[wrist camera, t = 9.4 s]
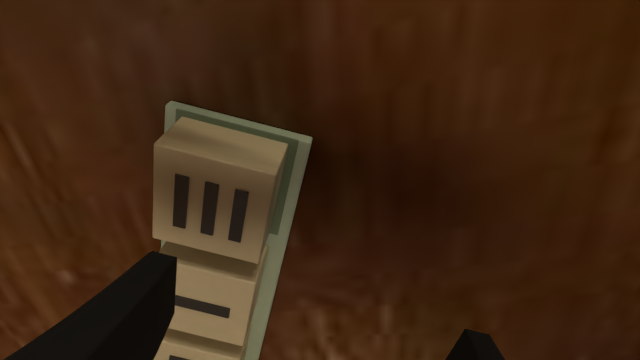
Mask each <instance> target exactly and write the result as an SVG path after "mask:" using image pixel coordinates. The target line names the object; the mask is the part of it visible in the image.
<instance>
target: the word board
mask: <svg viewBox="0 0 640 360" xmlns="http://www.w3.org/2000/svg"><path fill="white" fill-rule="evenodd" d="M181 117H186V118H190V119H194V120H198V121H202V122H206V123H210V124H213V125H217V126H221V127H225V128H229V129H233V130H237V131H241V132H244V133H248V134H252V135H256V136H260V137H264V138H268V139H272V140H275V141H279V142H283V143H287V144H288V145H289V146H288V151H287V156H286V160H285V165H284V170H283V174H282V179H281V184H280V188H279V193H278V198H277V203H276V207H275V212H274V217H273V221H272V226H271V229H270V232H269V235H268V238H267V241H266V244H265V247H264V250H263V253H262V255H261V258H260V261H259V263H258V264H256V263H252V262H248V261H244V260H240V259H236V258H232V257H228V256H224V255H220V254H216V253H212V252H208V251H204V250H200V249H196V248H192V247H188V246H184V245H180V244H176V243H172V242H168V241H164V240H161V250H160V251H159V253H162V254H166V255H170V256H174V257H177V273H176V293H175V313H174V315H173V318H172V320H171V322H170V325H169V327H168V329H167V332H166V334H165V336H164V338H163V341H162V343H161V345H160V347H159V350H158V352H157V354H156V356H155V357H154V359H153V360H259V356H260V352H261V348H262V343H263V339H264V335H265V331H266V327H267V323H268V319H269V315H270V311H271V307H272V303H273V299H274V295H275V291H276V286H277V282H278V278H279V274H280V270H281V266H282V262H283V258H284V254H285V250H286V246H287V242H288V238H289V233H290V229H291V225H292V221H293V217H294V213H295V209H296V205H297V201H298V197H299V193H300V189H301V185H302V181H303V176H304V172H305V168H306V164H307V160H308V156H309V152H310V148H311V144H312V140H313V138H312V137H310V136H306V135H302V134H298V133H295V132H291V131H287V130H283V129H279V128H275V127H271V126H267V125H264V124H260V123H256V122H252V121H248V120H244V119H240V118H237V117H233V116H229V115H225V114H221V113H217V112H213V111H210V110H206V109H202V108H198V107H194V106H190V105H186V104H183V103H179V102H175V101H170V102H169V103H168V104H166V106H165V130H164V133H165V132H166V131H167V130H168V129H169V128H170V127H172V126H173V125H174V124H175V123H176V122H177V121H178V120H179V119H180V118H181Z"/></svg>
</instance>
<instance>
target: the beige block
mask: <svg viewBox="0 0 640 360" xmlns="http://www.w3.org/2000/svg"><path fill="white" fill-rule="evenodd" d="M288 146H289V145H288V144H287V143H283V142H279V141H275V140H272V139H268V138H264V137H260V136H256V135H252V134H248V133H244V132H241V131H237V130H233V129H229V128H225V127H221V126H217V125H213V124H210V123H206V122H202V121H198V120H194V119H190V118H186V117H181V118H180V119H179V120H178V121H177V122H176V123H175V124H174V125H173V126H172V127H170V128H169V129H168V130H167V131H166V132H165V133H164V134H163V135H162V136H161V137H160V138H159V139H158V140H157V141H156V142H155V143H154V172H153V238H156V239H160V240H164V241H168V242H172V243H176V244H180V245H184V246H188V247H192V248H196V249H200V250H204V251H208V252H212V253H216V254H220V255H224V256H228V257H232V258H236V259H240V260H244V261H248V262H252V263H256V264H258V263H259V261H260V258H261V255H262V253H263V250H264V247H265V244H266V241H267V238H268V235H269V232H270V229H271V226H272V221H273V217H274V212H275V207H276V203H277V198H278V193H279V188H280V184H281V179H282V174H283V170H284V165H285V160H286V156H287V151H288Z"/></svg>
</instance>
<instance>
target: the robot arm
mask: <svg viewBox="0 0 640 360" xmlns="http://www.w3.org/2000/svg"><path fill="white" fill-rule="evenodd" d="M176 273H177V257H174V256H170V255H166V254H162V253H158V252H154V251H152V252H150V253H148V254H147V255H146V256H145V257H143V258H142V259H141V260H140V261H138V262H137V263H136V264H135V265H134V266H132V267H131V268H130V269H129V270H128V271H126V272H125V273H124V274H123V275H121V276H120V277H119V278H118V279H116V280H115V281H114V282H113V283H111V284H110V285H109V286H107V287H106V288H105V289H104V290H102V291H101V292H100V293H98V294H97V295H96V296H94V297H93V298H92V299H90V300H89V301H88V302H86V303H85V304H84V305H82V306H81V307H80V308H78V309H77V310H76V311H74V312H73V313H72V314H70V315H69V316H68V317H66V318H65V319H63V320H62V321H61V322H59V323H58V324H56V325H55V326H53V327H52V328H50V329H49V330H47V331H46V332H44V333H43V334H42V335H40V336H39V337H37V338H36V339H34V340H33V341H31V342H30V343H28V344H27V345H25V346H24V347H22V348H21V349H19V350H18V351H16V352H15V353H13V354H12V355H10V356H8V357H7V358H5V359H4V360H153V359H154V357H155V356H156V354H157V352H158V350H159V347H160V345H161V343H162V341H163V338H164V336H165V334H166V332H167V329H168V327H169V325H170V322H171V320H172V318H173V315H174V313H175V293H176ZM446 360H505V359H504V358H503V356H502V354H501V353H500V351H499V349H498V348H497V346H496V345H495V343H494V341H493V340H492V338H491V337H490V335H488V334H484V333H480V332H476V331H472V330H468V329H465V330H464V331H463V333H462V334H461V336H460V338H459V339H458V341H457V342H456V344H455V346H454V347H453V349H452V350H451V352H450V353H449V355H448V357H447V358H446Z"/></svg>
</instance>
